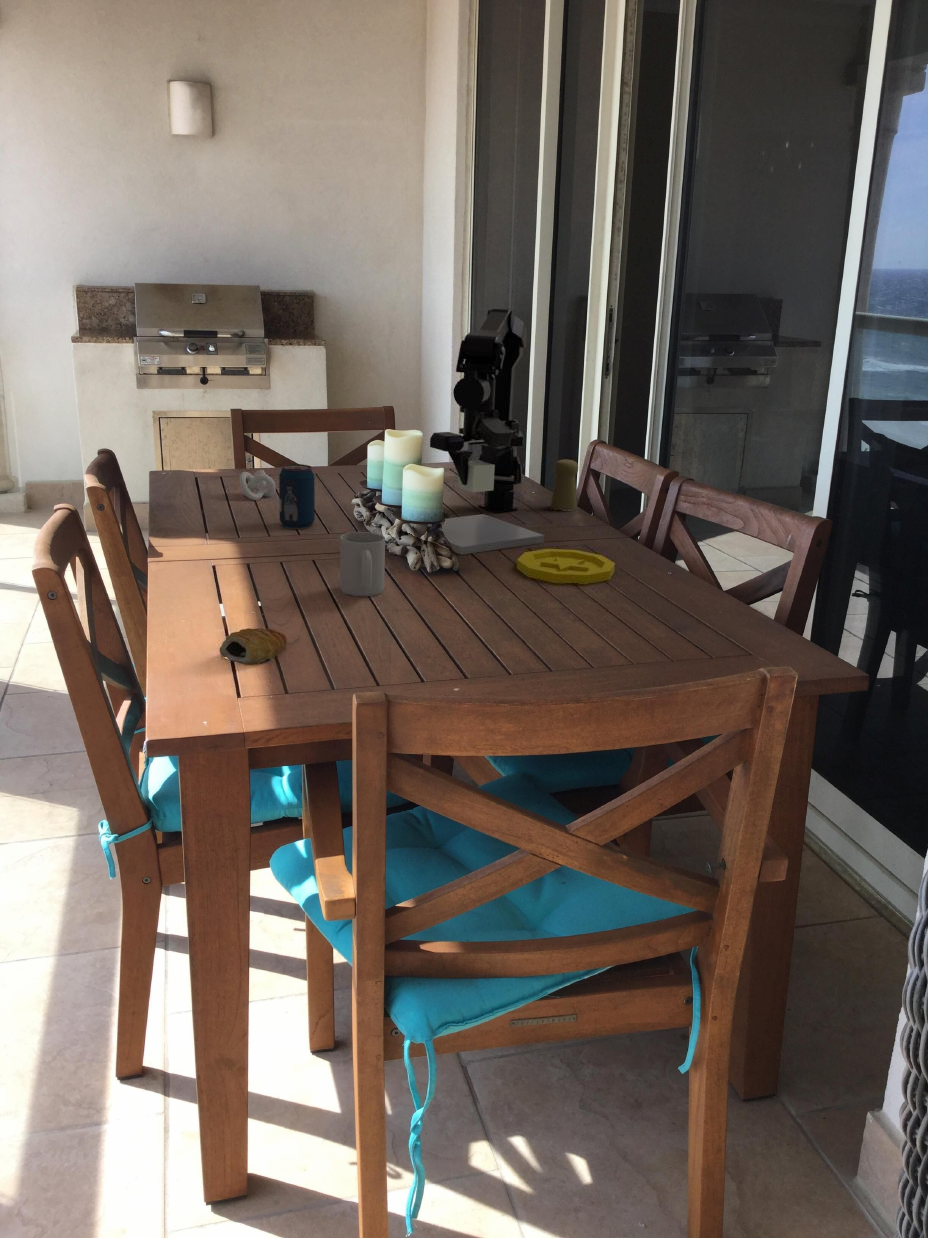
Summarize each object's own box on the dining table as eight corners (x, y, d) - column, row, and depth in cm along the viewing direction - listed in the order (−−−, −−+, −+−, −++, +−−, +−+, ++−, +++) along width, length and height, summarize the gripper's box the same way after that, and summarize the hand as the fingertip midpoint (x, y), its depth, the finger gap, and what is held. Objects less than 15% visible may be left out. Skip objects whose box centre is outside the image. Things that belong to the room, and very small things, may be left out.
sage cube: (457, 487, 206) (458, 462, 204) (478, 485, 208) (479, 460, 207) (472, 492, 202) (473, 466, 200) (493, 490, 205) (494, 464, 203)
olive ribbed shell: (262, 640, 148) (261, 614, 147) (299, 650, 145) (299, 624, 144) (215, 659, 140) (214, 632, 139) (254, 670, 137) (253, 643, 136)
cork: (576, 506, 239) (580, 458, 236) (576, 512, 233) (580, 463, 230) (550, 504, 240) (553, 456, 236) (549, 510, 234) (553, 461, 230)
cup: (381, 583, 175) (382, 531, 173) (389, 601, 166) (390, 547, 163) (337, 584, 174) (338, 532, 171) (344, 602, 165) (344, 548, 162)
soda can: (311, 521, 215) (311, 463, 211) (317, 529, 209) (317, 469, 205) (277, 522, 213) (276, 463, 209) (282, 530, 206) (281, 470, 203)
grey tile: (403, 531, 210) (403, 523, 210) (483, 520, 221) (483, 514, 221) (460, 554, 195) (461, 546, 194) (543, 542, 206) (544, 535, 206)
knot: (234, 494, 236) (233, 468, 234) (269, 492, 239) (268, 467, 237) (242, 501, 229) (241, 475, 228) (278, 499, 233) (277, 473, 231)
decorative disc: (547, 554, 200) (548, 544, 199) (630, 572, 190) (631, 561, 189) (498, 572, 186) (499, 561, 186) (585, 592, 177) (586, 580, 176)
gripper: (463, 410, 188) (460, 495, 193) (543, 406, 199) (538, 487, 204) (429, 402, 197) (427, 484, 202) (508, 398, 207) (503, 476, 212)
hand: (475, 483), depth 205 cm, fingers closed on sage cube, 5 cm apart
